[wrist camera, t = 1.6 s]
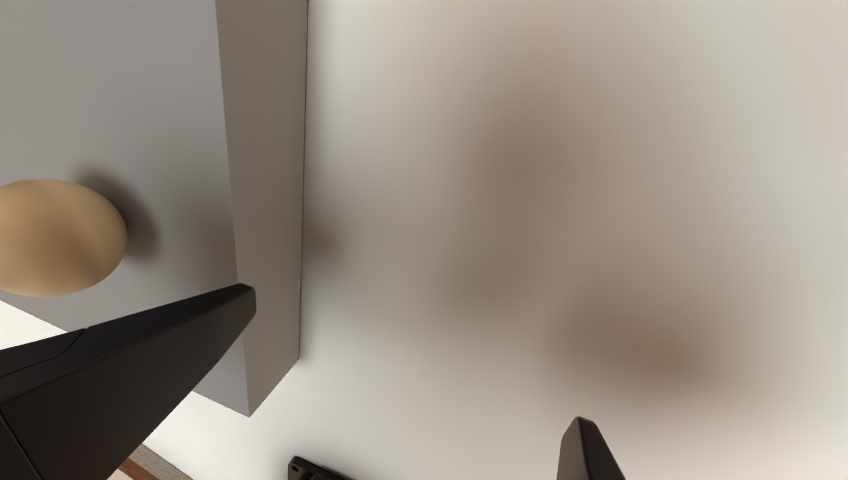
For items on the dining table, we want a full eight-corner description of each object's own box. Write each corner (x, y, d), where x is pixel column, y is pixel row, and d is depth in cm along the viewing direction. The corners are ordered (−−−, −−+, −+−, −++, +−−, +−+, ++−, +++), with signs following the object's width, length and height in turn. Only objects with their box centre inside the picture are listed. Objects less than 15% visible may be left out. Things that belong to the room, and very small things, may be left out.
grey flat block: (298, 359, 19) (249, 417, 16) (-16, 225, 23) (-103, 251, 20) (308, -23, 11) (210, -53, 8) (-182, -126, 15) (-371, -172, 12)
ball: (162, 274, 13) (46, 339, 10) (86, 243, 14) (-44, 295, 11) (143, 182, 11) (-4, 229, 8) (57, 152, 12) (-107, 185, 9)
